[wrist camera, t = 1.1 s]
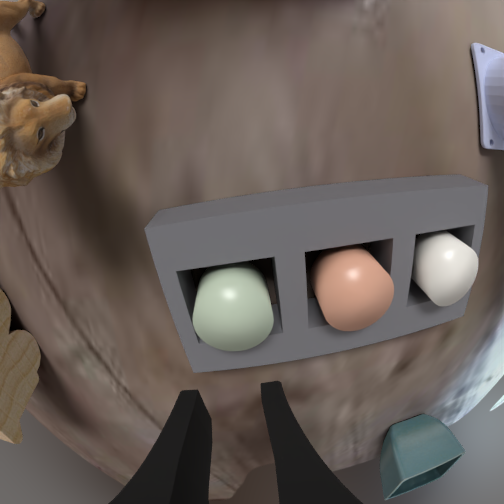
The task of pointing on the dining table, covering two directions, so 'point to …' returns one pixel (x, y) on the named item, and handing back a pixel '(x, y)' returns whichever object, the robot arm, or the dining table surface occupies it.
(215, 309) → the sage button
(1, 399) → the toy train
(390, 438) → the flower pot
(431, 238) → the cream button
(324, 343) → the button panel
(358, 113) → the dining table surface
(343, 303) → the terracotta button
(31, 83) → the lion figurine
